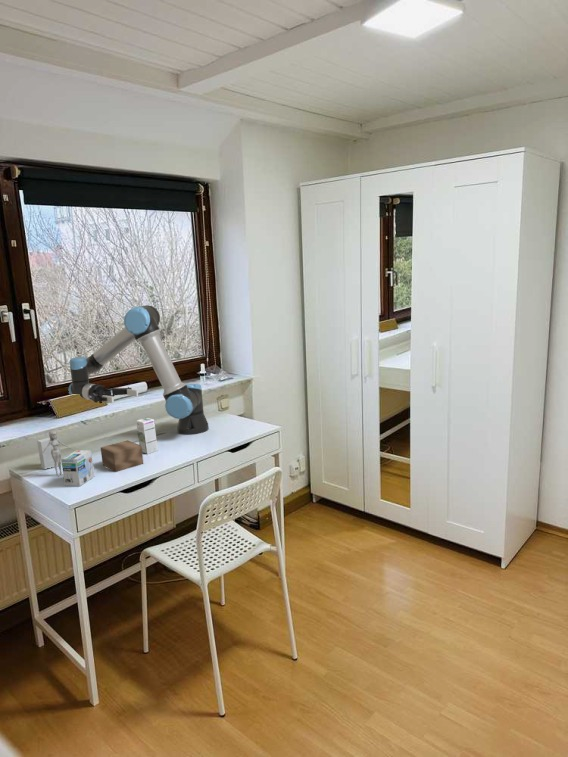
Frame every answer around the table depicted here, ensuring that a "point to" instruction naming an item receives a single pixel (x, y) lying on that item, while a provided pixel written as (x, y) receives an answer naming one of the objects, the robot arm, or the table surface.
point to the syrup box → (147, 435)
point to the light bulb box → (78, 468)
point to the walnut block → (122, 455)
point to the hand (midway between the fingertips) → (125, 396)
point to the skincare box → (45, 453)
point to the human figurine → (55, 450)
